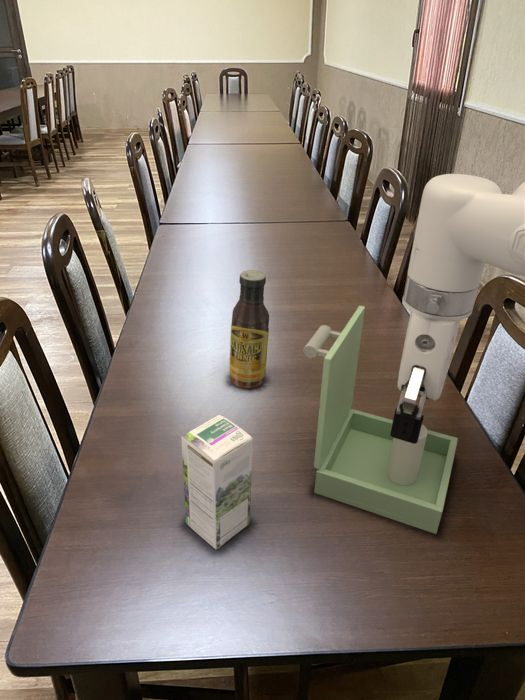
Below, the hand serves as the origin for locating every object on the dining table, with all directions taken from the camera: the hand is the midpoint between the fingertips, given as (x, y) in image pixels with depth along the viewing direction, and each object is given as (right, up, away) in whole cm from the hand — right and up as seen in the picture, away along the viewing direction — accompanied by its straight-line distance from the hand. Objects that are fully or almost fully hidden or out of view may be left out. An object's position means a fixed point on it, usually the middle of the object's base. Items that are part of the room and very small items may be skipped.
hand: (411, 416), depth 68 cm
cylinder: (0, -9, +5) cm, 10 cm away
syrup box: (-24, -13, -2) cm, 28 cm away
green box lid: (-8, +4, +2) cm, 9 cm away
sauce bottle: (-21, +3, +25) cm, 33 cm away
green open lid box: (-2, -9, +6) cm, 11 cm away
